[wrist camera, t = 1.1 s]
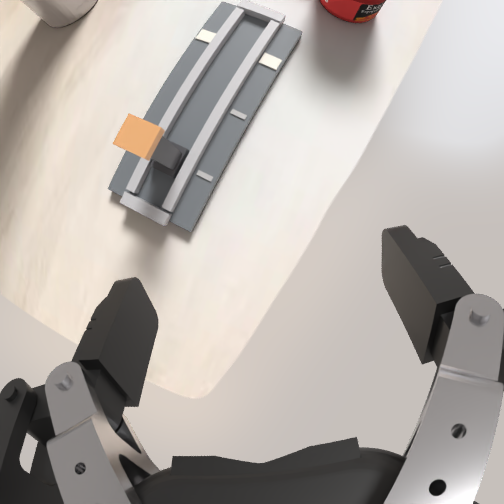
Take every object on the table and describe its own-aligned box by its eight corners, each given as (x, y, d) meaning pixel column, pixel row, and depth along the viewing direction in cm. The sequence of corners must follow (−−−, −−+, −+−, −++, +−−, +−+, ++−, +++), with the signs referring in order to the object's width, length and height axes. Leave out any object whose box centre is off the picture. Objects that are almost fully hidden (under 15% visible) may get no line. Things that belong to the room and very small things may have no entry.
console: (110, 193, 32) (100, 192, 29) (225, 4, 29) (223, -7, 27) (190, 235, 32) (185, 237, 30) (302, 34, 30) (305, 23, 27)
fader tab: (152, 167, 30) (110, 147, 20) (166, 140, 30) (131, 109, 20) (176, 178, 30) (142, 162, 20) (190, 151, 30) (163, 123, 20)
